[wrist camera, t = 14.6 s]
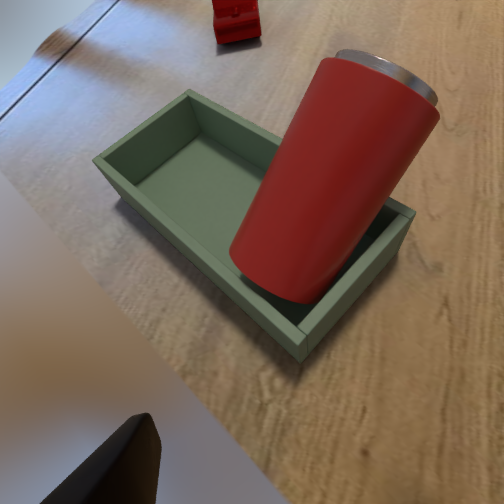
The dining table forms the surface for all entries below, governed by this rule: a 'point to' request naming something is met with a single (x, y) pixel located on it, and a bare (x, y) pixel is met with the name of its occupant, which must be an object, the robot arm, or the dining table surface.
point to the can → (332, 173)
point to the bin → (233, 210)
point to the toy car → (235, 20)
